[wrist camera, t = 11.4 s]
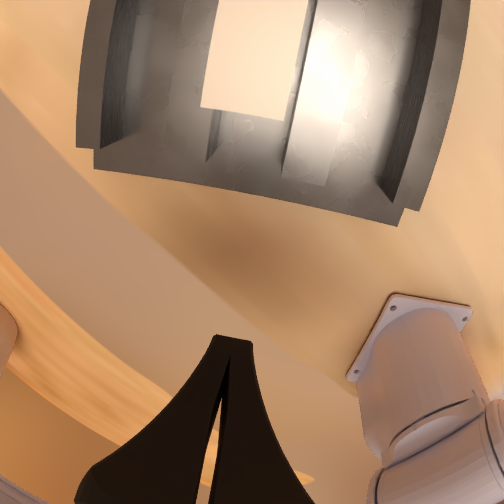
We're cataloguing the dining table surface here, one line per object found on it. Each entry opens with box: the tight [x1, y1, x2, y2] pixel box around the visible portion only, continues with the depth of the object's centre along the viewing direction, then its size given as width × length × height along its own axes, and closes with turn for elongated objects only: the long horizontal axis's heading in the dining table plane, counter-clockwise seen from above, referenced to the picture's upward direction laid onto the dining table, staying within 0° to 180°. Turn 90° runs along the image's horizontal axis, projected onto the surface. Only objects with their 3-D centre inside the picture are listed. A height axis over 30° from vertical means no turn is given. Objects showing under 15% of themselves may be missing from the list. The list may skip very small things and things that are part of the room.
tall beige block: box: [200, 0, 308, 121], centre depth 10 cm, size 6×2×7 cm, turn 170°
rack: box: [76, 0, 471, 227], centre depth 12 cm, size 16×18×4 cm
